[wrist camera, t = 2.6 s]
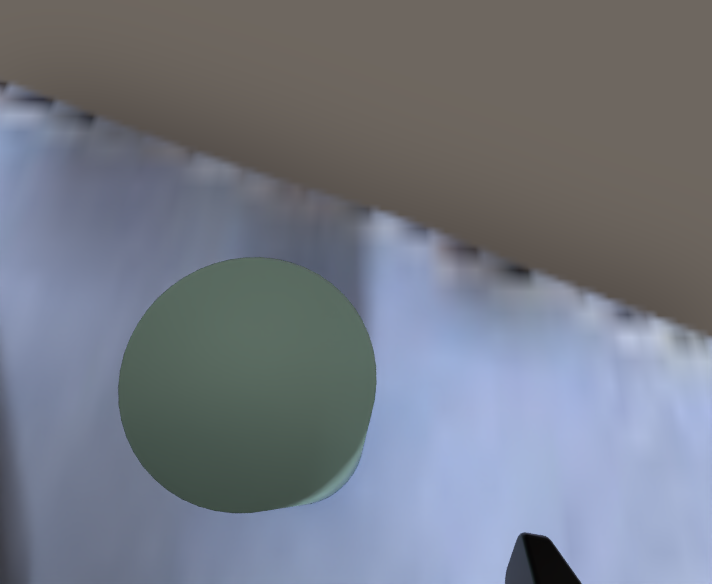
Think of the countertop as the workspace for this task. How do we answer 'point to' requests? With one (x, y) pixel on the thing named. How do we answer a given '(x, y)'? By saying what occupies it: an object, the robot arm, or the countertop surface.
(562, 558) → the robot arm
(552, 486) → the countertop surface
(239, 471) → the dowel
